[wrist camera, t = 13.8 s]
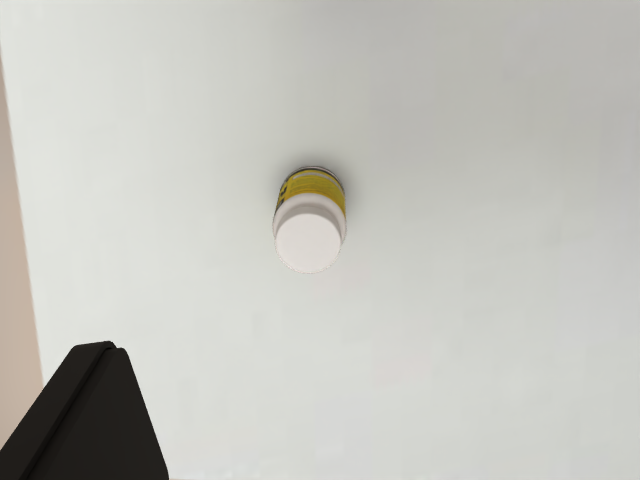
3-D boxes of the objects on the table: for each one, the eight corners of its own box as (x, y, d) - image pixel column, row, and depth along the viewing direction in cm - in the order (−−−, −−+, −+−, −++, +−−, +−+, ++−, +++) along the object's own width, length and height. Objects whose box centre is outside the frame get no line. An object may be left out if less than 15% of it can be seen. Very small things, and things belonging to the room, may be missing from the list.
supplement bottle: (277, 165, 43) (266, 206, 35) (344, 164, 43) (347, 205, 35) (281, 228, 45) (271, 280, 37) (345, 227, 45) (348, 279, 37)
